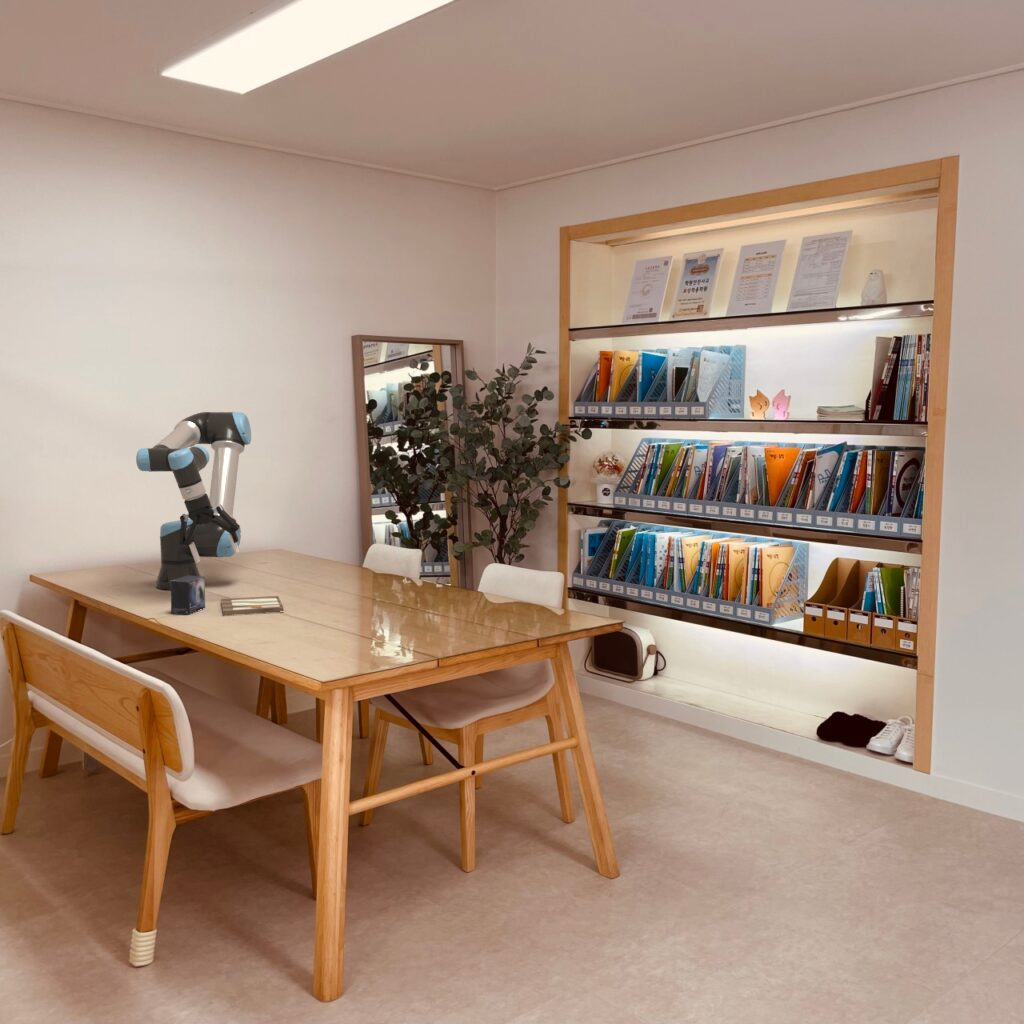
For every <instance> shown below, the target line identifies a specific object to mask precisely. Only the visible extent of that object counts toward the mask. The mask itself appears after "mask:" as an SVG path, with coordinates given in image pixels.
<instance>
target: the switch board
mask: <svg viewBox="0 0 1024 1024" xmlns="http://www.w3.org/2000/svg"><path fill="white" fill-rule="evenodd" d="M220 604H221V605H222V606H221V611H223V612H222V616H223V615H227V616H235V615H234V614H245V615H251V614H250V613H263V614H267V613H266V612H280V611H284V605H283V604H282V601H281V600H280V597H279V595H267V596H249V597H232V598H231V597H230V598H220ZM280 613H281V612H280ZM232 614H233V615H232Z"/></svg>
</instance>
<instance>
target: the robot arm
mask: <svg viewBox="0 0 1024 1024" xmlns="http://www.w3.org/2000/svg"><path fill="white" fill-rule="evenodd" d="M251 441H252V431H251V423H250V421H249V418H248V416H247V415H246V414H245V413H244V412H238V411H228V412H227V411H217V412H215V411H202V412H197V413H195V414H191V415H190V416H187V417H185V418H184V419H181V421H179V422H178V423H176V425H175V426H174V428H173V431H171V432H170V433H169V434H167V435H166V436H165V437H164V438H163V439H161V440H160V441H159V442H158V443H156V444H154V446H153V447H151V448H150V447H149V448H148V447H146V448H139V449H138V450H137V452H136V455H135V456H136V457H135V459H136V460H135V461H136V466H137V468H138V469H139V471H142V472H149V473H151V472H156V473H157V472H172V473H173V476H174V479H175V482H176V483H177V486H178V489H179V492H180V495H181V498H182V499H183V500H184V506H185V508H186V511H187V512H188V514H186V513H182V514H181V515H180V516H179V520H175V521H169V522H165V523H163V524H161V526H160V533H159V541H160V544H159V545H160V568H159V572H158V576H157V577H156V589H158V588H159V589H160V590H164V589H167V590H168V591H171V580H174V579H177V578H181V577H184V576H187V575H191V576H201V574H200V570H199V567H198V565H197V564H198V563H200V561H201V558H221V559H222V558H228V557H229V558H230V557H233V556H234V555H235V554H238V553H239V551H240V545H241V543H240V542H241V537H242V536H241V533H242V532H241V525H240V524H238V522H237V519H236V518H235V517H234V507H235V498H236V497H235V496H236V488H237V487H236V486H237V478H238V469H239V462H240V461H239V459H240V454H242V453H243V452H244V451H245V446H248V445H250V444H251ZM201 445H210V447H211V449H212V450H213V451H214V455H213V465H212V470H211V471H212V472H211V480H210V488H209V495H208V494H207V493H206V492H207V490H206V488H205V484H204V482H203V480H202V476H201V474H200V472H201V471H202V470H203V469H204V468H206V466H207V465H208V464H209V462H210V453H209V451H208V450H207V449H206V448H205V447H204V446H201Z"/></svg>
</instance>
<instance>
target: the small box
mask: <svg viewBox="0 0 1024 1024" xmlns="http://www.w3.org/2000/svg"><path fill="white" fill-rule="evenodd" d="M205 579H206V577H205V576H201V575H200V576H191V575H187V576H184V577H181V578H177V579H174V580H171V590H170V614H171V613H177V614H176V615H185V614H189V615H191V614H190V613H192V614H194V613H196V612H195V611H197V612H199V611H198V610H200V609H202V610H204V609H203V608H205V609H206V597H205V596H206V594H205V593H206V590H205V589H206V587H205V586H206V585H205V583H206V581H205ZM200 611H201V610H200ZM193 612H194V613H193Z"/></svg>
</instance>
